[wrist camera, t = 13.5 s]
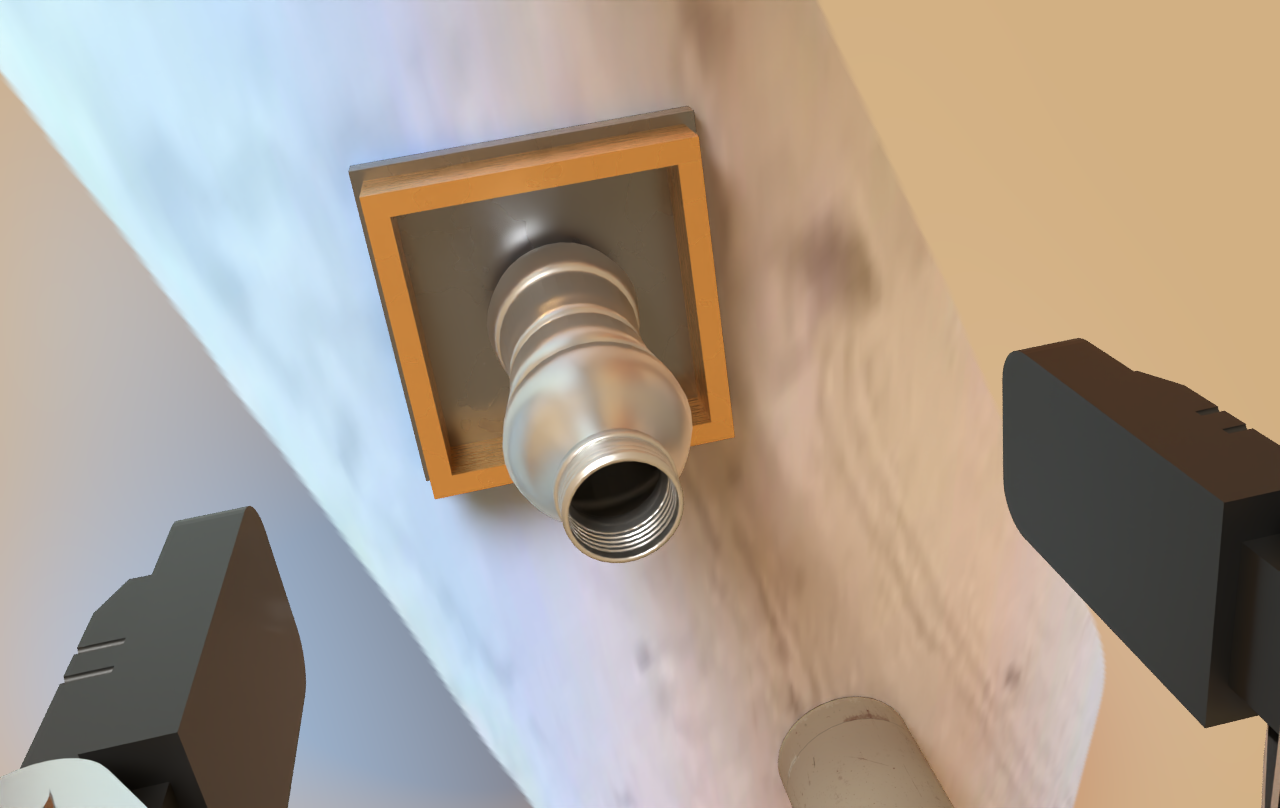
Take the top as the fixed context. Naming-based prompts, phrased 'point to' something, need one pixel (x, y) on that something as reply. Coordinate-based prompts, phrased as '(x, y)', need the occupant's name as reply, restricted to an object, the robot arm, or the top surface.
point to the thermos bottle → (856, 760)
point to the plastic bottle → (588, 403)
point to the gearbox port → (512, 226)
